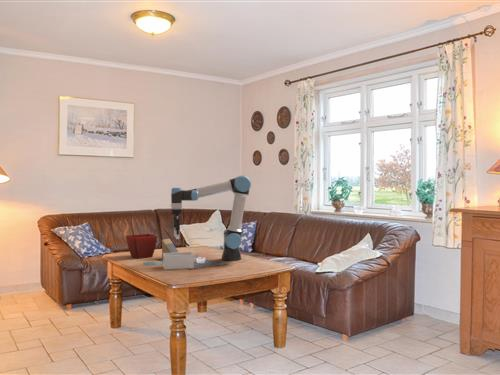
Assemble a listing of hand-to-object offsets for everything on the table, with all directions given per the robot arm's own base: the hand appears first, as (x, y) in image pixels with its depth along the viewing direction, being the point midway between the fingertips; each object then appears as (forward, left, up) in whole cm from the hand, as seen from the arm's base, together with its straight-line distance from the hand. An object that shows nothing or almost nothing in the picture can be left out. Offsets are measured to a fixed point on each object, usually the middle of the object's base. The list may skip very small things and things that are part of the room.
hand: (176, 237), depth 325 cm
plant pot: (+25, -35, -19) cm, 47 cm away
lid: (+10, 0, -19) cm, 21 cm away
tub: (+1, +18, -19) cm, 26 cm away
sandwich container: (+1, -20, -19) cm, 27 cm away
